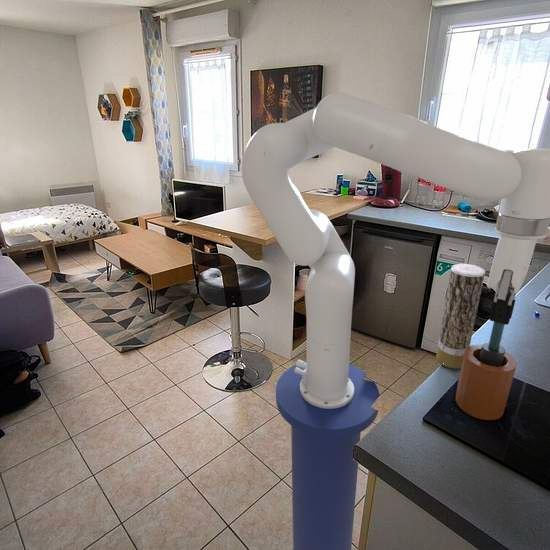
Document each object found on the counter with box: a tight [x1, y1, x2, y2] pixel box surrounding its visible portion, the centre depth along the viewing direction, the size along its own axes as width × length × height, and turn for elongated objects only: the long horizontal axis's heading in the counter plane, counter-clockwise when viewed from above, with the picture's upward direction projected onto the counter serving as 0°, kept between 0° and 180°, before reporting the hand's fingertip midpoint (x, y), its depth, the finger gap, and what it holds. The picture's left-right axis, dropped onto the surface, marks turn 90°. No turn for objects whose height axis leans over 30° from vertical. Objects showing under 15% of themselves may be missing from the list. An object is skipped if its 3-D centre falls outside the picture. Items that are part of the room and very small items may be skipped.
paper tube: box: [435, 263, 486, 370], centre depth 86 cm, size 7×7×25 cm
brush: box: [479, 293, 510, 367], centre depth 70 cm, size 4×4×17 cm
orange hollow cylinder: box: [455, 344, 518, 421], centre depth 75 cm, size 9×9×12 cm
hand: (500, 318), depth 69 cm, fingers closed on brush
